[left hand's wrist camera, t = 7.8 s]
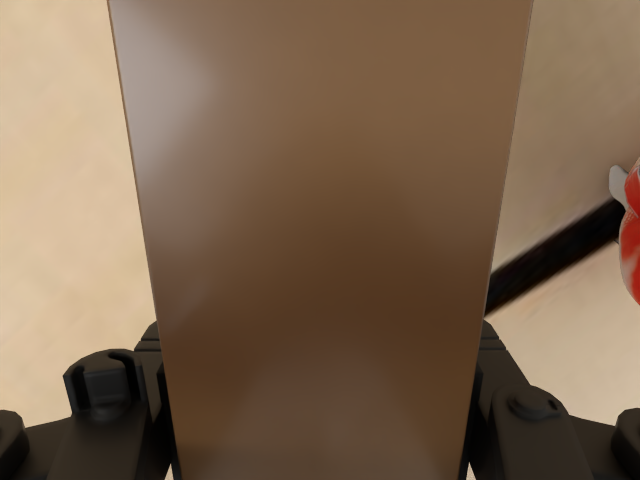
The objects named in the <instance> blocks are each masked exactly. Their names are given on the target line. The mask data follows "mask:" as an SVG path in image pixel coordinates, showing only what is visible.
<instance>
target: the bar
mask: <svg viewBox="0 0 640 480" xmlns="http://www.w3.org/2000/svg"><path fill="white" fill-rule="evenodd" d="M107 5H108V11H109V18H110V24H111V30H112V37H113V43H114V50H115V56H116V62H117V69H118V75H119V82H120V88H121V95H122V101H123V107H124V114H125V120H126V127H127V133H128V139H129V146H130V152H131V159H132V165H133V172H134V178H135V184H136V191H137V197H138V204H139V210H140V216H141V223H142V229H143V236H144V242H145V249H146V255H147V261H148V268H149V274H150V281H151V287H152V293H153V300H154V306H155V313H156V319H157V325H158V332H159V338H160V345H161V351H162V358H163V364H164V370H165V377H166V383H167V390H168V396H169V402H170V409H171V415H172V422H173V428H174V435H175V441H176V447H177V454H178V460H179V467H180V473H181V479H182V480H458V477H459V471H460V464H461V458H462V452H463V445H464V439H465V433H466V426H467V420H468V413H469V407H470V401H471V394H472V388H473V382H474V375H475V369H476V362H477V356H478V350H479V343H480V337H481V331H482V324H483V318H484V312H485V305H486V299H487V292H488V286H489V280H490V273H491V267H492V261H493V254H494V248H495V241H496V235H497V229H498V222H499V216H500V210H501V203H502V197H503V191H504V184H505V178H506V171H507V165H508V159H509V152H510V146H511V140H512V133H513V127H514V120H515V114H516V108H517V101H518V95H519V89H520V82H521V76H522V70H523V63H524V57H525V50H526V44H527V38H528V31H529V25H530V19H531V12H532V6H533V0H107Z"/></svg>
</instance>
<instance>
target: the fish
mask: <svg viewBox="0 0 640 480" xmlns="http://www.w3.org/2000/svg"><path fill="white" fill-rule="evenodd" d="M609 190H610V193H611V195H612V196H613V197H614V198H615V199H616V200H618V201H619V202H621V203H622V204H623V206H624V207H625V210H626V213H625V215H624V217H623V220H622V222H621V226H620V232H619V241H617V240H614V241H615V242H617V243H618V244H619V257H620V266H621V273H622V277H623V281H624V284H625V286H626V288H627V290H628V291H629V293H630V294H631V296H632V297H633V298H634V299H635V301H636V302H637V303H638V304H639V305H640V157H639V158H638V160H637V161H636V163H635V164H634V166H633V167H632V168H631V170H630V172H629V173H628V172H626V171H625V170H624V169H623V168H621V167H620V166H619V165H615V166H612V167H611V169H610V173H609Z"/></svg>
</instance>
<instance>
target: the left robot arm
mask: <svg viewBox="0 0 640 480" xmlns="http://www.w3.org/2000/svg"><path fill="white" fill-rule="evenodd" d="M63 379H64V383H65V387H66V390H67V394H68V398H69V402H70V406H71V410H72V415H71V417H68V418H65V419H62V420H58V421H54V422H49V423H45V424H41V425H36V426H32V427H27V428H25V426H24V423H23V420H22V417H20V416H19V415H18V414H17V413H16V412H13V411H7V410H0V480H165V477H166V474H167V472H168V469H169V466H170V464H171V467H172V473H173V479H174V480H182V479H181V473H180V467H179V460H178V454H177V447H176V441H175V435H174V428H173V422H172V415H171V409H170V402H169V396H168V390H167V383H166V377H165V370H164V364H163V358H162V351H161V345H160V338H159V332H158V325H157V321H155V322H154V323H153V324H151V325H150V326H149V327H148V329H147V330H146V332H145V333H144V335H143V336H142V338H141V341H139V342H138V344H137V345H136V347H135V349H134V351H131V350H127V349H108V350H104V351H99V352H95V353H93V354H90V355H88V356H86V357H83V358H81V359H80V360H78V361H77V362H76V363H74V364H73V365H71V366H70V367H69V368H68V370H67V371H66V372H65V373H64V375H63ZM469 462H470V465H471V468H472V470H473V473H474V476H475V478H476V480H640V408H633V409H628V410H624V411H623V412H622V413H621V414H620V415H619V416H618V419H617V422H616V425H615V426H612V425H608V424H603V423H599V422H594V421H590V420H585V419H581V418H578V417H575V416H571V415H569V414H568V412H567V410H566V409H565V407H564V406H563V404H562V403H561V402H560V401H559V400H558V399H557V398H555V397H554V396H553V395H552V394H550V393H548V392H546V391H544V390H542V389H540V388H538V387H535V386H531V385H530V384H529V382H528V381H527V379H526V378H525V376H524V375H523V373H522V371H521V370H520V368H519V367H518V365H517V364H516V362H515V361H514V359H513V358H512V356H511V355H510V353H509V352H508V350H506V347H505V346H504V344H503V342H502V341H501V340H499V336H498V335H497V333H496V332H495V330H494V329H493V327H492V326H491V324H489V323H488V322H487V321H485V320H484V319H483V324H482V331H481V337H480V343H479V350H478V356H477V362H476V369H475V375H474V382H473V388H472V394H471V401H470V407H469V413H468V420H467V426H466V433H465V439H464V445H463V452H462V458H461V464H460V471H459V477H458V480H466V477H467V471H468V465H469Z"/></svg>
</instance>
